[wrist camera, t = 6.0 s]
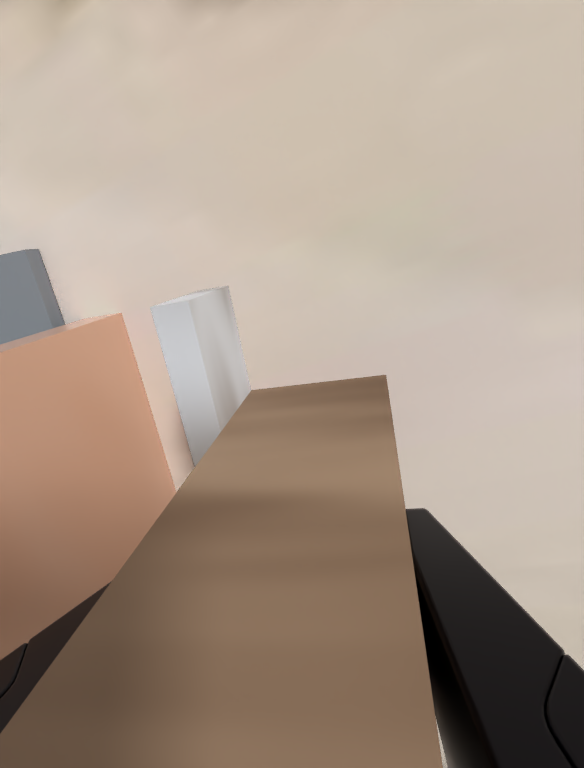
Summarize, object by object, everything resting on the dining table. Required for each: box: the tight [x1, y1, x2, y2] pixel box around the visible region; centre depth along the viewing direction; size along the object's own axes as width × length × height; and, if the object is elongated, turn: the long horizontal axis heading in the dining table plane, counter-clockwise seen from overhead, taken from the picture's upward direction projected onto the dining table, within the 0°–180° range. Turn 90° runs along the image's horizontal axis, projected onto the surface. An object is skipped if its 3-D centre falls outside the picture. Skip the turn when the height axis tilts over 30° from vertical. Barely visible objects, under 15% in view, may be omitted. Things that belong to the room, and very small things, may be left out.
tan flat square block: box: [0, 313, 176, 660], centre depth 12 cm, size 8×2×8 cm, turn 10°
